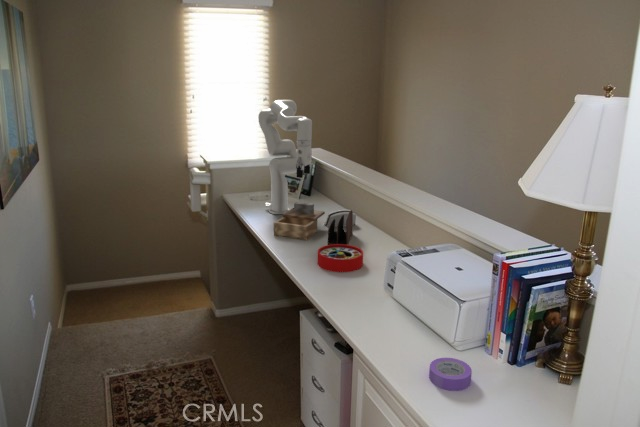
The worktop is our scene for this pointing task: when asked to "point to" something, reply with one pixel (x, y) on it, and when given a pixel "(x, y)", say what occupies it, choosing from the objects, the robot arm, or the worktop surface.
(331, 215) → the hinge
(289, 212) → the lid
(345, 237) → the letter holder
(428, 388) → the worktop surface
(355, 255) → the toy clock
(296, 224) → the wooden box
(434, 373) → the masking tape
